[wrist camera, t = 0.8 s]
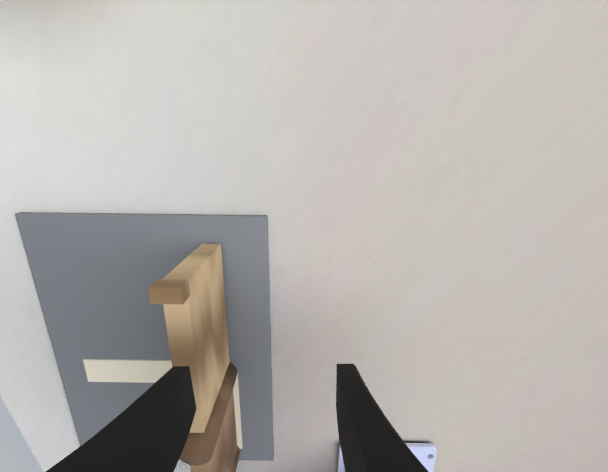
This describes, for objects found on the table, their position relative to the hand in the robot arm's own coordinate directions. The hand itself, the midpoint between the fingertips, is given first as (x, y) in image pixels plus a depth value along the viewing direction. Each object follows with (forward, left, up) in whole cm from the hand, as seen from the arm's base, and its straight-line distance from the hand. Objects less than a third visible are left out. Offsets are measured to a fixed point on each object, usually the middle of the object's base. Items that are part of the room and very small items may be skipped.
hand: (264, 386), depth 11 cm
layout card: (-6, +9, -9) cm, 14 cm away
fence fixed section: (-11, +4, -9) cm, 15 cm away
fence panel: (-2, +5, -9) cm, 10 cm away
